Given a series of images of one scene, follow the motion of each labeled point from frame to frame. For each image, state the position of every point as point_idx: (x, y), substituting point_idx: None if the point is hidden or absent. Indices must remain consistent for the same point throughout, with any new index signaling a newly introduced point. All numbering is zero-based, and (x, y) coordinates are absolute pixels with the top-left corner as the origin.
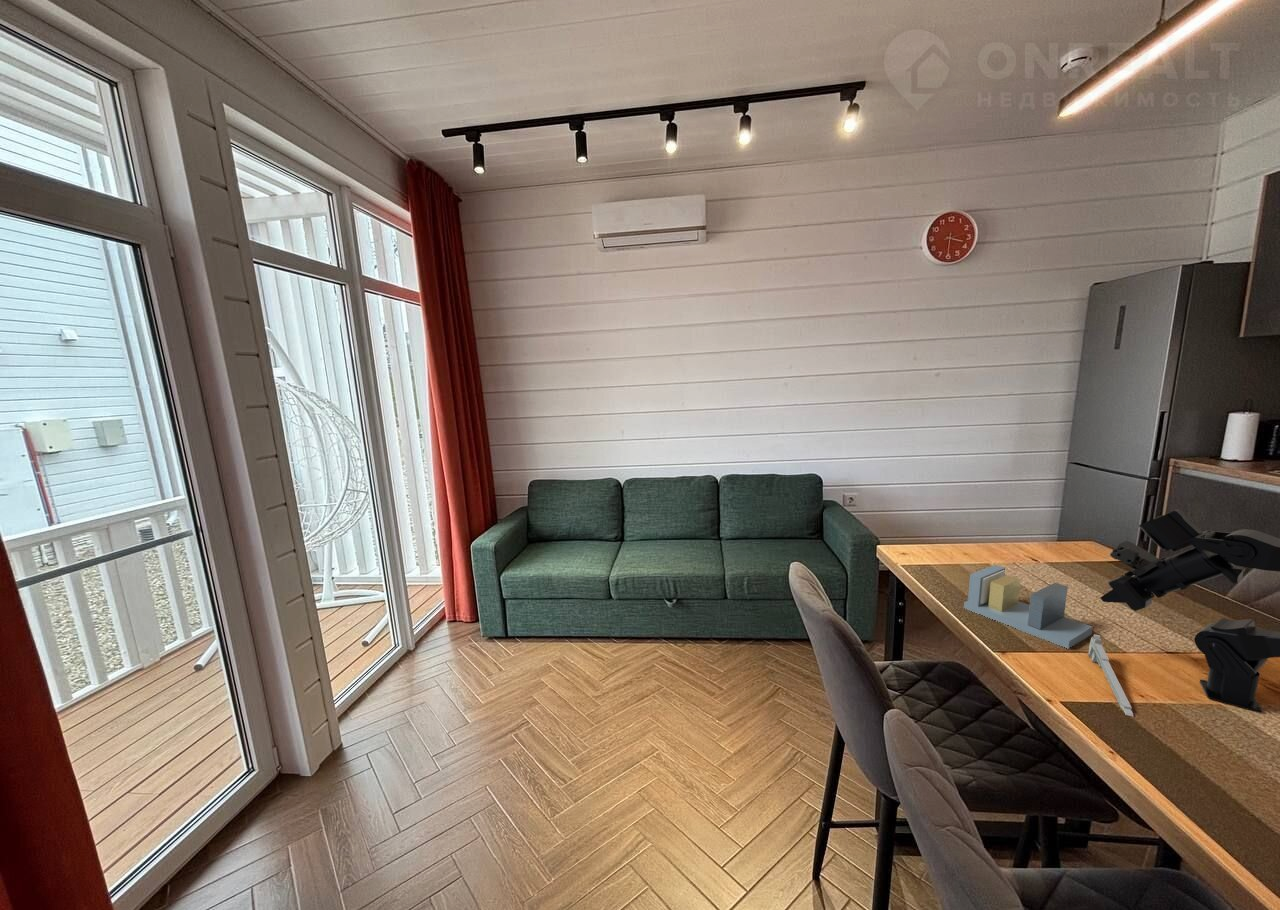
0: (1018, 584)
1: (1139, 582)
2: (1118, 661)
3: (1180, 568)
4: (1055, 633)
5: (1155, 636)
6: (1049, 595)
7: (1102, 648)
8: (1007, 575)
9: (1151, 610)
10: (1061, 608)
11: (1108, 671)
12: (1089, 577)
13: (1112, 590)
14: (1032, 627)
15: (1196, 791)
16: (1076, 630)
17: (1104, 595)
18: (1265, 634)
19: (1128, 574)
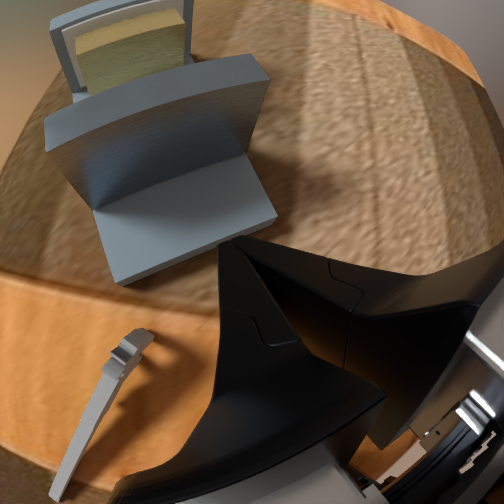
0: (176, 38)
1: (451, 421)
2: (207, 363)
3: None
4: (117, 235)
5: (409, 259)
6: (96, 127)
7: (107, 394)
8: (171, 10)
9: (459, 176)
10: (225, 141)
11: (71, 445)
12: (433, 79)
13: (221, 321)
14: None
15: None
16: (202, 228)
17: (218, 264)
18: None
19: (489, 307)
